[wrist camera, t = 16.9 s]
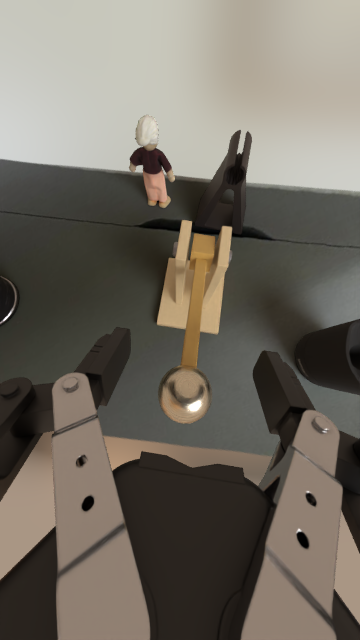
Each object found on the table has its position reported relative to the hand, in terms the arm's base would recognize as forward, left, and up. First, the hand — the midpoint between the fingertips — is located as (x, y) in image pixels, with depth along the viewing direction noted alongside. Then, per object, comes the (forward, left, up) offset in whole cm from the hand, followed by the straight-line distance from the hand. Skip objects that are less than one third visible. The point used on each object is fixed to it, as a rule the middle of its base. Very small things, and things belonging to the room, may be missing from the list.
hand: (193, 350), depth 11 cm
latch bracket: (+4, +10, -19) cm, 22 cm away
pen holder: (+21, -6, -19) cm, 29 cm away
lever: (+1, +3, -6) cm, 6 cm away
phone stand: (+14, +24, -19) cm, 34 cm away
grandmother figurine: (+3, +31, -19) cm, 36 cm away
